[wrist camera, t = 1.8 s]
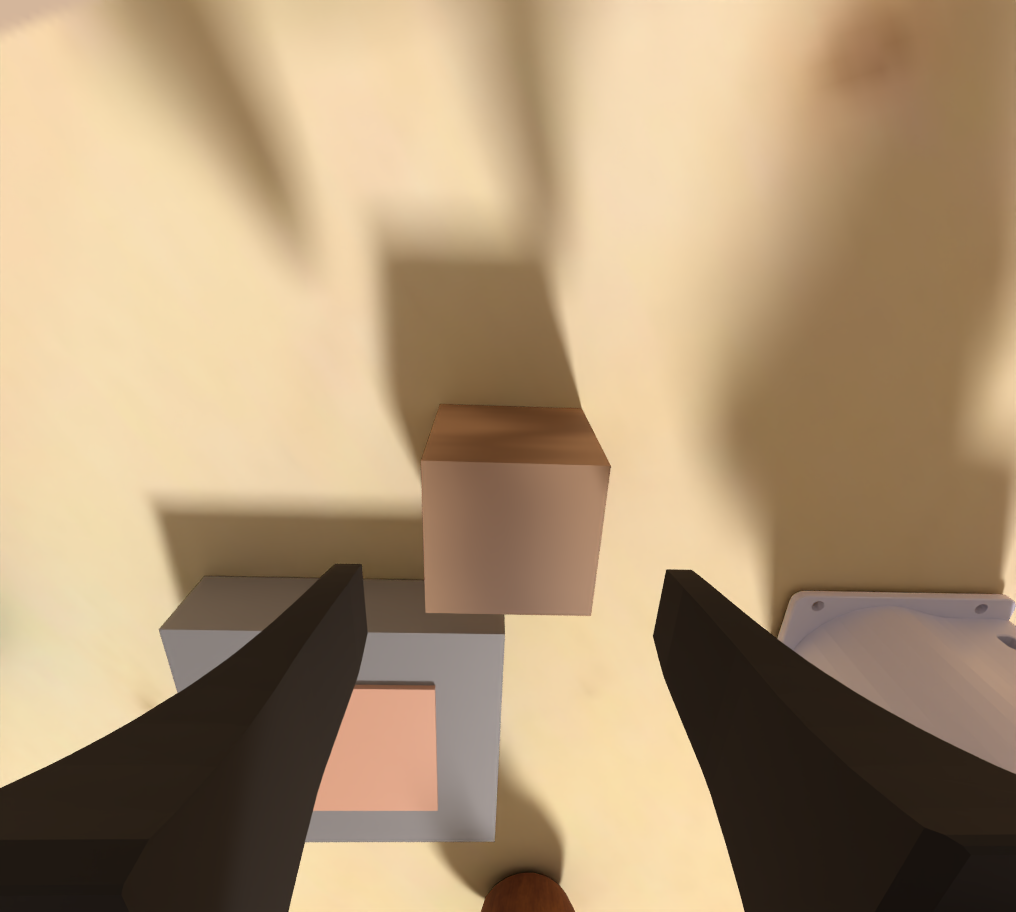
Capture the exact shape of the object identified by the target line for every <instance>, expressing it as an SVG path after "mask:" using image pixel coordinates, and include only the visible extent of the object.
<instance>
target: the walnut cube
mask: <svg viewBox="0 0 1016 912" xmlns="http://www.w3.org/2000/svg"><path fill="white" fill-rule="evenodd" d="M610 468H611V465H610V463H609V461H608V459H607V457H606V455H605V454H604V452H603V450H602V448H601V446H600V444H599V442H598V440H597V438H596V436H595V434H594V432H593V430H592V428H591V426H590V424H589V422H588V420H587V418H586V416H585V414H584V412H583V410H582V409H581V408H549V407H517V406H485V405H453V404H440V406H439V409H438V411H437V414H436V417H435V420H434V423H433V426H432V429H431V432H430V435H429V438H428V441H427V444H426V447H425V450H424V453H423V456H422V459H421V480H422V513H423V546H424V579H425V613H457V614H515V615H573V616H591V612H592V604H593V596H594V589H595V581H596V574H597V566H598V559H599V551H600V543H601V536H602V528H603V521H604V513H605V506H606V498H607V491H608V483H609V475H610Z"/></svg>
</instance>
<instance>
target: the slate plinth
mask: <svg viewBox="0 0 1016 912" xmlns="http://www.w3.org/2000/svg"><path fill="white" fill-rule="evenodd" d="M318 579H319V578H276V577H221V576H204V577H203V578H202V580H201V581H200V582H199V583H198V584H197V585H196V587H195V588H194V589H193V590H192V591H191V592H190V594H189V595H188V596H187V597H186V598H185V599H184V601H183V602H182V603H181V604H180V605H179V606H178V608H177V609H176V610H175V611H174V612H173V613H172V615H171V616H170V617H169V618H168V619H167V620H166V622H165V623H164V624H163V625H162V626H161V628H160V629H159V632H160V635H161V639H162V642H163V645H164V649H165V652H166V655H167V659H168V662H169V665H170V669H171V672H172V675H173V679H174V682H175V685H176V689H177V692H178V693H179V692H180V691H182V690H184V689H185V688H187V687H188V686H190V685H191V684H193V683H194V682H195V681H197V680H198V679H200V678H201V677H203V676H204V675H205V674H207V673H208V672H210V671H211V670H213V669H214V668H215V667H217V666H218V665H220V664H221V663H222V662H224V661H225V660H226V659H228V658H229V657H230V656H232V655H233V654H234V653H236V652H237V651H238V650H239V649H241V648H242V647H243V646H244V645H246V644H247V643H248V642H249V641H250V640H252V639H253V638H254V637H255V636H256V635H258V634H259V633H260V632H261V631H262V630H264V629H265V628H266V627H267V626H268V625H270V624H271V623H272V622H273V621H274V620H275V619H276V618H277V617H279V616H280V615H281V614H282V613H283V612H284V611H285V610H286V609H287V608H288V607H290V606H291V605H292V604H293V603H294V602H295V601H296V600H297V599H298V598H299V597H300V596H301V595H303V594H304V593H305V592H306V591H307V590H308V589H309V588H310V587H311V586H312V585H313V584H314V583H315V582H316V581H317V580H318ZM363 586H364V597H365V608H366V619H367V630H368V634H367V639H366V644H365V648H364V653H363V657H362V662H361V666H360V670H359V674H358V677H357V680H356V683H355V686H354V689H353V692H352V695H351V698H350V700H349V703H348V706H347V709H346V712H345V715H344V717H343V720H342V723H341V726H340V729H339V731H338V734H337V737H336V740H335V743H334V745H333V748H332V751H331V754H330V757H329V760H328V762H327V765H326V768H325V771H324V774H323V777H322V780H321V784H320V787H319V790H318V793H317V797H316V801H315V805H314V809H313V813H312V816H311V820H310V824H309V828H308V832H307V836H306V840H305V842H495V825H496V805H497V784H498V764H499V743H500V723H501V702H502V682H503V661H504V641H505V622H504V614H457V613H425V580H387V579H363Z"/></svg>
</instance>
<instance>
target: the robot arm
mask: <svg viewBox="0 0 1016 912" xmlns="http://www.w3.org/2000/svg"><path fill="white" fill-rule="evenodd" d="M817 601H818V602H817ZM815 602H817V603H815ZM813 603H815V604H814V605H813ZM1015 607H1016V604H1015V602H1014V601H1013V600H1012V599H1011V598H1009V597H1008V596H1006V595H1003V594H956V593H900V592H844V591H800V592H797V593H795V594H794V595H793V596H792V597H791V599H790V601H789V604H788V607H787V610H786V613H785V616H784V619H783V623H782V626H781V629H780V632H779V635H778V638H776V637H774V636H773V635H772V634H770V633H769V632H768V631H767V630H765V629H764V628H763V627H761V626H760V625H759V624H758V623H756V622H755V621H754V620H753V619H751V618H750V617H749V616H748V615H746V614H745V613H744V612H743V611H742V610H740V609H739V608H738V607H737V606H735V605H734V604H733V603H732V602H731V601H729V600H728V599H727V598H726V597H725V596H723V595H722V594H721V593H720V592H719V591H717V590H716V589H715V588H714V587H713V586H711V585H710V584H709V583H708V582H706V581H705V580H704V579H703V578H702V577H700V576H699V575H698V574H696V573H695V572H694V571H692V570H666V574H665V579H664V584H663V589H662V594H661V599H660V604H659V609H658V614H657V619H656V624H655V629H654V634H653V638H654V642H655V646H656V650H657V654H658V658H659V661H660V665H661V669H662V672H663V676H664V679H665V681H666V684H667V686H668V689H669V691H670V694H671V696H672V699H673V701H674V704H675V706H676V709H677V711H678V713H679V716H680V718H681V721H682V723H683V726H684V728H685V730H686V733H687V735H688V738H689V740H690V743H691V745H692V747H693V750H694V752H695V755H696V757H697V760H698V762H699V764H700V767H701V769H702V772H703V775H704V777H705V780H706V783H707V785H708V788H709V791H710V794H711V797H712V800H713V804H714V807H715V810H716V813H717V817H718V820H719V823H720V826H721V830H722V833H723V836H724V839H725V843H726V846H727V850H728V853H729V857H730V860H731V864H732V867H733V871H734V874H735V878H736V881H737V885H738V888H739V892H740V896H741V899H742V903H743V907H744V911H745V912H1016V626H1015V625H1014V624H1013V623H1011V622H1010V621H1009V619H1010V617H1011V615H1012V613H1013V612H1014V610H1015ZM367 634H368V630H367V619H366V608H365V597H364V586H363V574H362V564H335V565H333V566H332V567H331V568H330V569H329V570H328V571H327V572H326V573H325V574H324V575H323V576H321V577H320V578H319V579H318V580H317V581H316V582H315V583H314V584H313V585H312V586H311V587H310V588H309V589H308V590H307V591H306V592H305V593H304V594H303V595H301V596H300V597H299V598H298V599H297V600H296V601H295V602H294V603H293V604H292V605H291V606H290V607H288V608H287V609H286V610H285V611H284V612H283V613H282V614H281V615H280V616H279V617H277V618H276V619H275V620H274V621H273V622H272V623H271V624H270V625H268V626H267V627H266V628H265V629H264V630H262V631H261V632H260V633H259V634H258V635H256V636H255V637H254V638H253V639H252V640H250V641H249V642H248V643H247V644H246V645H244V646H243V647H242V648H241V649H239V650H238V651H237V652H236V653H234V654H233V655H232V656H230V657H229V658H228V659H226V660H225V661H224V662H222V663H221V664H220V665H218V666H217V667H215V668H214V669H213V670H211V671H210V672H208V673H207V674H205V675H204V676H203V677H201V678H200V679H198V680H197V681H195V682H194V683H193V684H191V685H190V686H188V687H187V688H185V689H184V690H182V691H180V692H179V693H177V694H175V695H174V696H172V697H171V698H169V699H167V700H166V701H164V702H162V703H161V704H159V705H158V706H156V707H154V708H153V709H151V710H150V711H148V712H146V713H145V714H143V715H141V716H140V717H138V718H137V719H135V720H133V721H131V722H130V723H128V724H126V725H124V726H123V727H121V728H119V729H117V730H115V731H114V732H112V733H110V734H108V735H106V736H105V737H103V738H101V739H99V740H97V741H95V742H93V743H92V744H90V745H88V746H86V747H84V748H82V749H80V750H78V751H76V752H75V753H73V754H71V755H69V756H67V757H65V758H63V759H61V760H59V761H57V762H55V763H53V764H51V765H49V766H47V767H45V768H42V769H40V770H38V771H36V772H34V773H32V774H30V775H27V776H25V777H23V778H21V779H19V780H17V781H15V782H13V783H10V784H8V785H6V786H4V787H2V788H0V912H288V911H289V906H290V902H291V898H292V894H293V889H294V885H295V881H296V877H297V873H298V869H299V865H300V860H301V856H302V852H303V848H304V844H305V840H306V836H307V832H308V828H309V824H310V820H311V816H312V813H313V809H314V805H315V801H316V797H317V793H318V790H319V787H320V784H321V780H322V777H323V774H324V771H325V768H326V765H327V762H328V760H329V757H330V754H331V751H332V748H333V745H334V743H335V740H336V737H337V734H338V731H339V729H340V726H341V723H342V720H343V717H344V715H345V712H346V709H347V706H348V703H349V700H350V698H351V695H352V692H353V689H354V686H355V683H356V680H357V677H358V674H359V670H360V666H361V662H362V657H363V653H364V648H365V644H366V639H367Z"/></svg>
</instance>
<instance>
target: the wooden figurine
mask: <svg viewBox="0 0 1016 912" xmlns="http://www.w3.org/2000/svg"><path fill="white" fill-rule="evenodd" d="M481 912H575V910H574V908H573V906H572V904H571V903H570V901H569V899H568V897H567V895H566V893H565V892H564V890H563V889H562V888H561V886H560V885H559V884H557V883H556V882H555V881H553V880H552V879H550V878H548V877H546V876H544V875H541V874H537V873H519V874H516V875H513V876H510V877H507V878H505V879H504V880H502V881H500V882H499V883H498V884H497V885H496V886H495V887H494V888H493V889H492V890H491V891H490V892H489V894H488V895H487V896H486V898H485V901H484V904H483V907H482V910H481Z"/></svg>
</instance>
